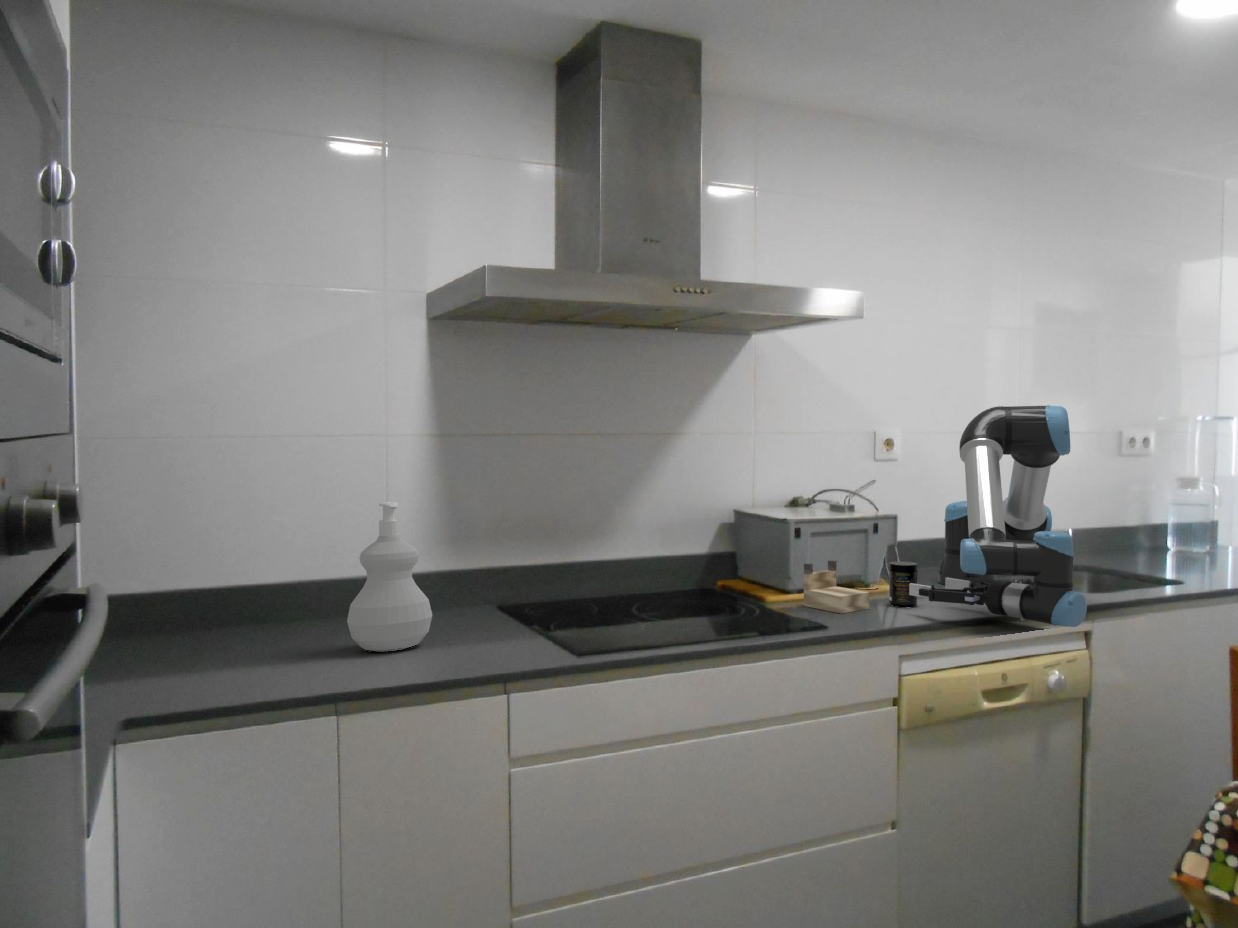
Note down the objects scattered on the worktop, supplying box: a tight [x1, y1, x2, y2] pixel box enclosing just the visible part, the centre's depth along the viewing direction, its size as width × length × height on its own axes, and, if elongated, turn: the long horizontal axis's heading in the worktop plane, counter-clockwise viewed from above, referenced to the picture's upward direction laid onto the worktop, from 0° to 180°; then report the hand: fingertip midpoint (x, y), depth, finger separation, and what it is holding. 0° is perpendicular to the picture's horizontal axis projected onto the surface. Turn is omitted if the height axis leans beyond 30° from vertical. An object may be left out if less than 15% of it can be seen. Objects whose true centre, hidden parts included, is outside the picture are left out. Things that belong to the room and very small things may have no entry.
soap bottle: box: [346, 501, 433, 651], centre depth 181 cm, size 17×12×29 cm
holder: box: [803, 559, 871, 614], centre depth 221 cm, size 10×12×10 cm
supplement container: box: [888, 560, 919, 608], centre depth 223 cm, size 7×7×10 cm
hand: (928, 586), depth 216 cm, fingers open, 13 cm apart
